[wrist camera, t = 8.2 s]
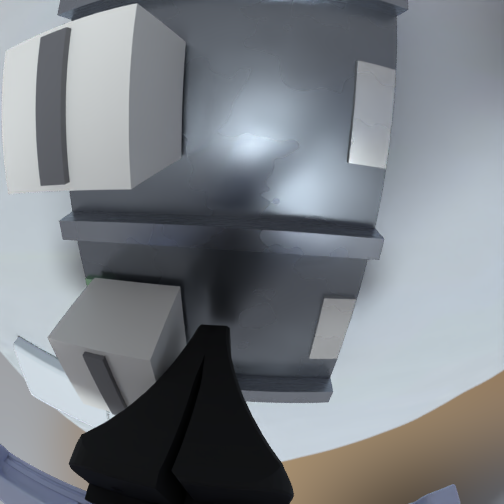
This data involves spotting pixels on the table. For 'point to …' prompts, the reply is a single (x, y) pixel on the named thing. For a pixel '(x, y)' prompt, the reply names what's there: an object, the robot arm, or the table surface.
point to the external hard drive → (54, 384)
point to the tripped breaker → (119, 340)
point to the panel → (260, 181)
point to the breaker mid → (93, 103)
